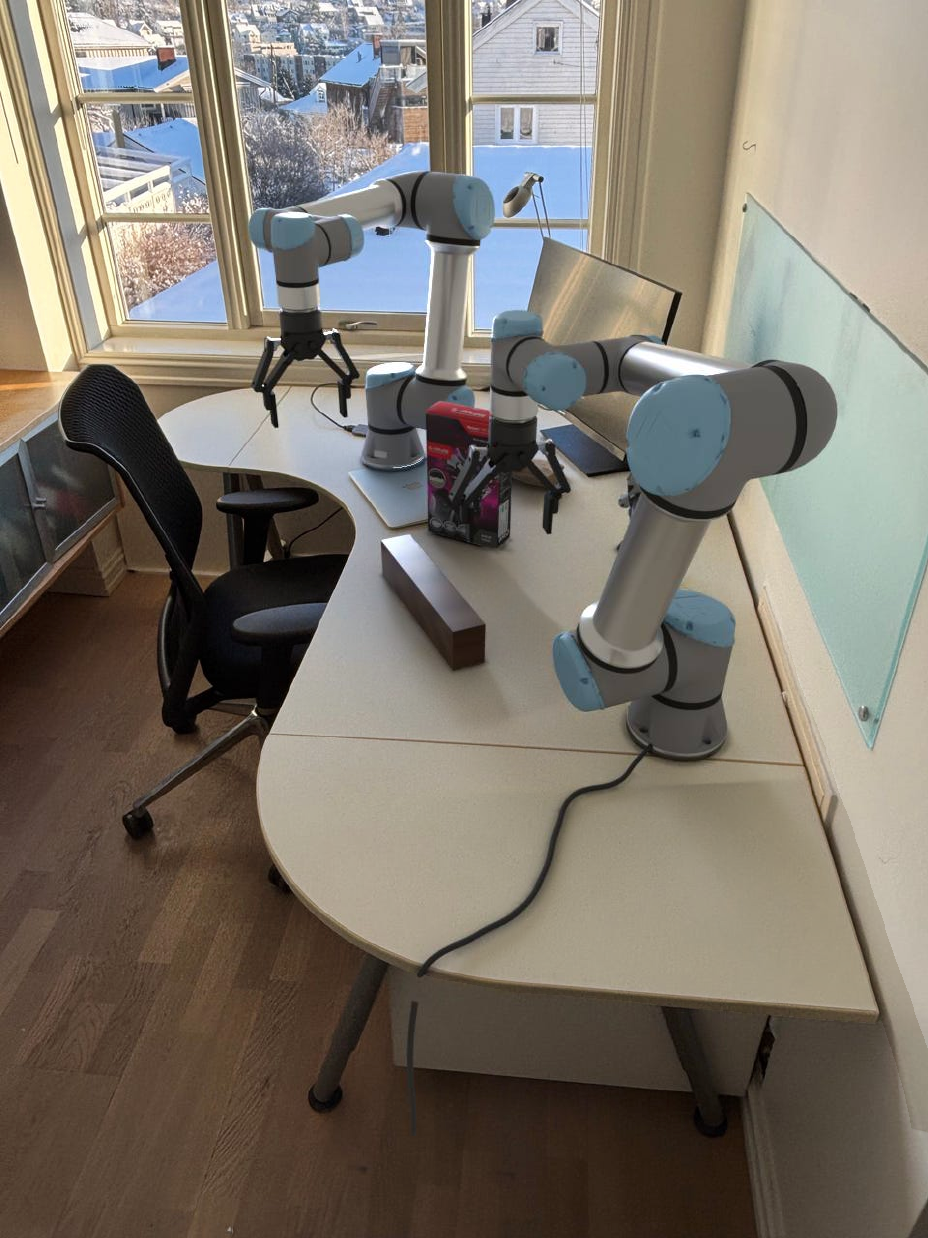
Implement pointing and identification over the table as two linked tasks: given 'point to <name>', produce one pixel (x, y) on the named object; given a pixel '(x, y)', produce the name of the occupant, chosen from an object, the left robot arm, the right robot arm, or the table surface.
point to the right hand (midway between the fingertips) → (508, 535)
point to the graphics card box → (445, 458)
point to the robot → (629, 498)
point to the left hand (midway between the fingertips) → (309, 420)
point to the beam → (434, 602)
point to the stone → (531, 478)
